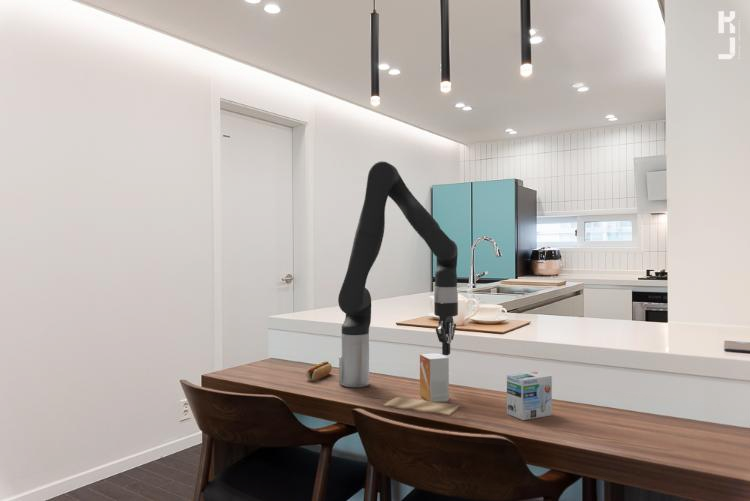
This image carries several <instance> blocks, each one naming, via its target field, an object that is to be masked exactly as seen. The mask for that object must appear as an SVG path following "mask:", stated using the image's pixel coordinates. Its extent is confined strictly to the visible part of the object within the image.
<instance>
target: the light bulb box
mask: <svg viewBox="0 0 750 501" xmlns="http://www.w3.org/2000/svg"><path fill="white" fill-rule="evenodd" d="M552 381H553V376H552V375H548V374H545V373H542V372H538V371H535V370H534V371H528V372H520V373H514V374H507V375H506V414H507V415H508V416H511V417H513V418H514V417H515V418H516V419H519V420H521V421H526V420H531V419H537V418H545V417H550V416H552V412H553V411H552V404H553V403H552V400H553V399H552V398H553V397H552V396H553V395H552V394H553V393H552V392H553V390H552V387H553V383H552Z"/></svg>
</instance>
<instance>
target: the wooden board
mask: <svg viewBox="0 0 750 501" xmlns="http://www.w3.org/2000/svg"><path fill="white" fill-rule="evenodd" d="M383 407H388V408H389V407H390V408H395V409H402V410H408V411H409V410H410V411H415V412H422V413H429V414H436V415H442V416H452V414H453V413H455V412H456V411H457V410H459V409H460V408H461V405H460V404H453V403H445V402H432V401H427V400H425V399H424V400H422V399H416V398H408V397H402V396H396V397H395V398H392V399H390V400H389V401H387V402H385V403H384V404H383Z"/></svg>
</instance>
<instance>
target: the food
mask: <svg viewBox="0 0 750 501" xmlns="http://www.w3.org/2000/svg"><path fill="white" fill-rule="evenodd" d="M332 369H333V368H332V364H331V363H330V362H329V361H326V360H325V361H322V362H321V363H318V364H316V365H313V367H309V368H308V369H307V370H306V373H305V375H306V377H307V379H308V380H309V381H310V382H316V381H318V380H320V379H323V378H325V377H326V376H329V374H331V372H332Z"/></svg>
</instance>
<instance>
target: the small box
mask: <svg viewBox="0 0 750 501" xmlns="http://www.w3.org/2000/svg"><path fill="white" fill-rule="evenodd" d="M449 366H450V364H449V357H447V356H446V355H443V354H440V353H438V352H437V353H436V352H434V353H422V354H421V353H420V354H419V397H421V398H423V399H424V400H425V401H432V402H439V403H445V402H449V401H450V392H449V391H450V382H449V381H450V374H449V371H450V369H449Z"/></svg>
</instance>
